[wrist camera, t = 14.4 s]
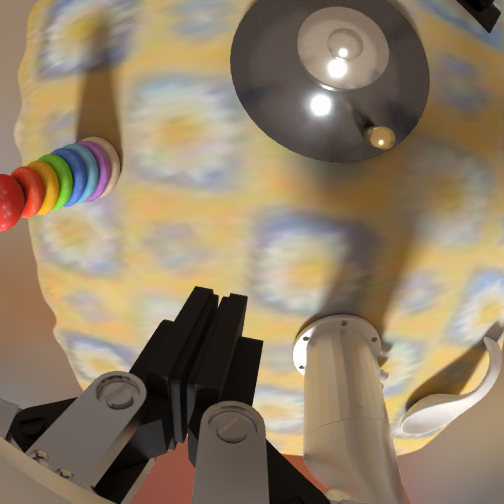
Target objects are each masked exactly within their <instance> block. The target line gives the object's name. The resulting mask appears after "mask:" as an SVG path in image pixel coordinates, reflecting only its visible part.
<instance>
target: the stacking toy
mask: <svg viewBox="0 0 504 504" xmlns="http://www.w3.org/2000/svg"><path fill="white" fill-rule="evenodd" d="M119 174H120V163H119V158H118V155H117V153H116V151H115V149H114V147H113V146H112V145H111V144H110V143H109V142H108V141H106V140H105V139H103V138H100V137H87V138H85V139H83V140H81V141H79V142H77V143H75V144H69V145H66V146H64V147H63V148H61V149H57V150H55V151H53V152H52V153H50V154H47V155H44V156H42V157H41V158H39V159H38V160H37V161H34V162H32V163H30V164H28V165H27V166H26V167H19V168H17V169H16V170H15V171H13V172H12V174H11V175H10V176H9V175H6V174H0V232H3V231H6V230H8V229H10V228H12V227H13V226H14V225H15V224H16V223H17V222H18V220H19V219H20V217H23V218H30V217H33V216H34V215H36V214H39V215H43V214H47V213H49V212H50V211H51V210H58V209H60V208H62V207H67V206H71V205H73V204H76V203H81V202H90V201H93V200H95V199H99V198H102V197H104V196H106V195H108V194H109V193H110V192H111V191H112V190H113V189H114V188H115V186H116V184H117V182H118V179H119Z"/></svg>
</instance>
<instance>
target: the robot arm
mask: <svg viewBox="0 0 504 504" xmlns="http://www.w3.org/2000/svg"><path fill="white" fill-rule="evenodd" d="M247 299H248V296H243V295H238V294H233V293H230V296H229V297H225V296H223V298H222V300H221V302H220V305H219V307H218V300H219V296H218V295H215V294H213V289H208V288H203V287H198V286H196V287H195V288H194V290H193V291H192V293H191V294H190V296H189V298H188V299H187V301H186V303H185V304H184V306H183V308H182V309H181V311H180V313H179V314H178V316H177V317H176V319H175V321H174V322H173V321H169V320H163V321H162V322H161V323H160V325H159V326H158V328H157V329H156V331H155V332H154V334H153V335H152V337H151V338H150V340H149V341H148V343H147V344H146V346H145V348H144V349H143V351H142V352H141V354H140V355H139V357H138V359H137V360H136V362H135V363H134V365H133V366H132V368H131V370H130V371H129V373H128V372H123V371H113V372H108V373H105V374H103V375H101V376H99V377H98V378H97V379H95V380H94V381H93V382H92V383H91V384H90V385H89V387H88V388H87V389H86V390H85V391H84V392H83V393H82V394H81V395H80V396H79V397H76V398H72V399H68V400H63V401H59V402H54V403H49V404H45V405H39V406H34V407H29V408H26V409H21V407H20V405H17V404H15V403H12V402H9V401H6V400H4V399H1V398H0V504H129V503H130V501H131V499H132V498H133V496H134V495H135V493H136V492H137V490H138V489H139V487H140V486H141V484H142V483H143V481H144V479H145V478H146V476H147V475H148V473H149V472H150V470H151V468H152V467H153V465H154V464H155V462H156V459H157V456H159V455H162V454H165V453H167V450H168V449H172V450H175V447H176V445H177V442H180V443H183V442H184V441H185V438H186V436H187V433H188V452H189V453H188V454H189V460H190V462H191V463H192V464H193V466H194V467H195V477H194V486H193V496H192V504H411V503H410V500H409V498H408V495H407V492H406V489H405V486H404V483H403V480H402V476H401V473H400V469H399V465H398V461H397V456H396V452H395V447H394V443H393V438H392V433H391V428H390V423H389V419H388V414H387V410H386V405H385V401H384V397H383V392H382V390H383V384H382V383H381V382H380V380H379V379H381V380H386V379H387V378H388V372H386V371H384V370H382V369H379V366H378V362H377V359H378V357H379V354H380V351H381V341H380V337H379V334H378V332H377V330H376V329H375V327H374V326H373V325H372V324H371V323H370V322H368V321H367V320H365V319H363V318H360V317H357V316H354V315H347V314H345V315H332V316H327V317H324V318H321V319H319V320H317V321H315V322H313V323H311V324H310V325H308V326H307V327H306V328H304V329H303V331H302V332H301V333H300V334H299V335H298V337H297V338H296V340H295V343H294V345H293V361H294V365H295V366H296V368H297V370H298V371H299V372H300V373H301V374H302V375H304V444H303V445H304V447H303V454H304V461H305V464H306V466H307V469H308V470H309V472H310V473H311V474H312V475H313V476H314V477H315V478H316V479H317V480H318V481H319V482H320V483H321V484H323V485H324V486H325V487H327V488H328V489H329V491H328V492H327V493H325V494H323V493H322V492H321V491H320V490H319V489H317V488H316V487H315V486H314V485H313V484H312V483H311V482H310V481H308V479H306V478H305V477H304V476H303V475H302V474H301V473H300V472H299V471H298V470H297V469H296V468H295V467H294V466H293V465H292V464H291V463H290V462H289V461H288V460H286V459H285V458H284V457H283V456H282V455H281V454H280V453H279V452H278V451H277V450H276V449H275V448H274V447H273V446H272V445H271V443H270V442H269V441H268V440H267V439H266V433H265V424H264V420H263V418H262V416H261V415H260V414H259V412H258V411H256V410H255V409H254V408H253V407H252V404H253V398H254V393H255V387H256V382H257V376H258V370H259V364H260V359H261V353H262V347H263V340H257V339H252V338H247V337H242V332H243V325H244V319H245V312H246V306H247Z"/></svg>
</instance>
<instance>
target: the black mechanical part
mask: <svg viewBox="0 0 504 504" xmlns="http://www.w3.org/2000/svg"><path fill="white" fill-rule="evenodd" d="M456 1H457V2H459V3H460V4H461V5H462V6H463V7H464V8H465V9H466V10H467V11H468V12H469V13H470V14H471V15H472V16H473V17H474V18H475V19H476V20H477V21H478V22H479V23H480V24H481V25H482V26H483V27H484V28H485V30H486V31H487V32H488V33H490V32H491V30H492V29H493V27H494V25H495V23H496V21H497V20H498V18H499V16H500V14H501V12H500V11H499V10H498V9H497V8H496V7H495V6H494V5H493V2H494V0H456Z"/></svg>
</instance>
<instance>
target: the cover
mask: <svg viewBox="0 0 504 504" xmlns="http://www.w3.org/2000/svg"><path fill="white" fill-rule="evenodd" d="M297 57H298V61H299V64H300V66H301V68H302V70H303V71H304V73H305V74H306V75H307V76H308V77H309V78H310V79H311V80H312V81H313V82H314V83H316V84H317V85H319V86H321V87H323V88H325V89H328V90H331V91H336V92H351V91H355V90H358V89H360V88H362V87H364V86H367V85H369V84H371V83H372V82H374V81H375V80H377V79H378V78H379V77H380V76H381V75H382V73H383V72H384V70H385V68H386V66H387V63H388V59H389V49H388V44H387V40H386V38H385V36H384V34H383V32H382V30H381V29H380V28H379V26H378V25H377V24H376V23H375V22H374V21H373V20H371V19H370V18H369V17H368V16H366V15H365V14H363V13H361V12H359V11H356V10H354V9H350V8H346V7H328V8H323V9H320V10H318V11H316V12H314V13H313V14H311V15H310V16H309V17H308V18H307V19H306V20H305V21H304V22H303V24H302V26H301V27H300V30H299V33H298V40H297Z"/></svg>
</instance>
